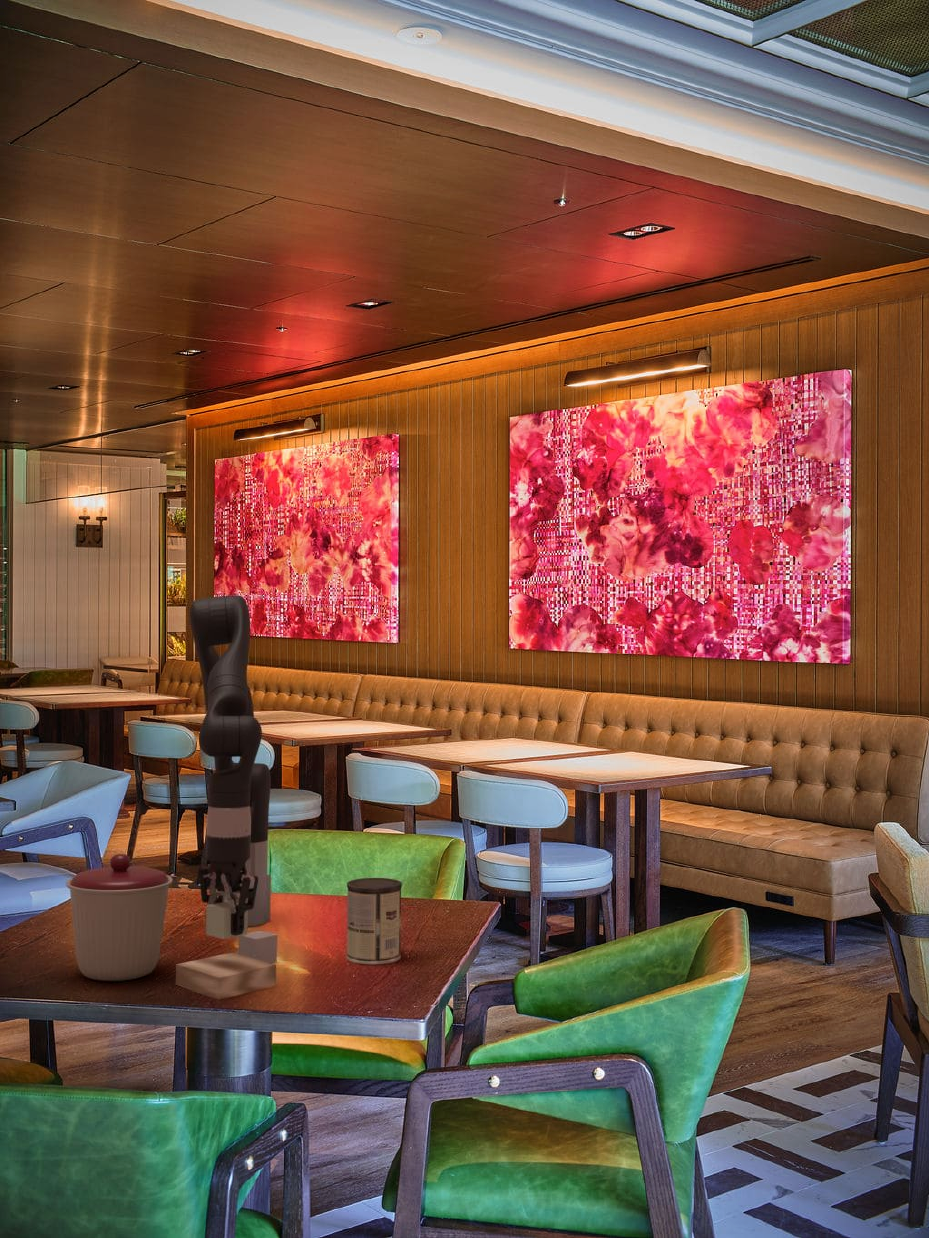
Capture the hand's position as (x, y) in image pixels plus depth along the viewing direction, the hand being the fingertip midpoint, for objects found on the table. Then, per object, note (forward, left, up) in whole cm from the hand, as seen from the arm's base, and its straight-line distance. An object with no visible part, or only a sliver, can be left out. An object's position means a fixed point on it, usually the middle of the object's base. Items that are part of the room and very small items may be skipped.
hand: (226, 931), depth 215 cm
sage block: (0, 0, 0) cm, 0 cm away
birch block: (0, 0, -10) cm, 10 cm away
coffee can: (-31, +4, -9) cm, 33 cm away
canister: (+9, -19, -9) cm, 23 cm away
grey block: (-14, -9, -9) cm, 19 cm away
